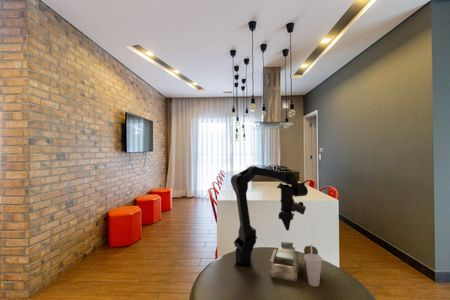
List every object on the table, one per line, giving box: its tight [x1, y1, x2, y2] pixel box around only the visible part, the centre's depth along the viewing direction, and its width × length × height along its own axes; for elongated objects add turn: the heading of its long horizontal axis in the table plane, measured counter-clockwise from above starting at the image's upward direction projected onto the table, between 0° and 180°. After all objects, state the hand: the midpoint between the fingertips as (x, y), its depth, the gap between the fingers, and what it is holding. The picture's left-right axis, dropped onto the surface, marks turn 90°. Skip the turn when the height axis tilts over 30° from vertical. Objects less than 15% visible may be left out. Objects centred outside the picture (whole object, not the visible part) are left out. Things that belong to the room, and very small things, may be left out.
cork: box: [303, 245, 319, 279], centre depth 86 cm, size 6×6×11 cm
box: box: [269, 248, 299, 283], centre depth 89 cm, size 10×12×6 cm
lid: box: [276, 241, 296, 260], centre depth 94 cm, size 7×12×3 cm, turn 159°
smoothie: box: [303, 244, 324, 287], centre depth 80 cm, size 6×6×14 cm
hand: (287, 229), depth 104 cm, fingers closed
